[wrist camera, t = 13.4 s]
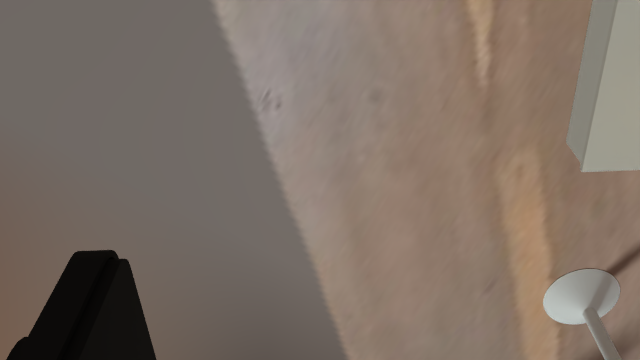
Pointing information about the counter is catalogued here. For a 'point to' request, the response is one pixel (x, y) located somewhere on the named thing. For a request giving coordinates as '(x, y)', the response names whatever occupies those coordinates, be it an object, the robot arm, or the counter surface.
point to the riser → (608, 90)
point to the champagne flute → (585, 303)
